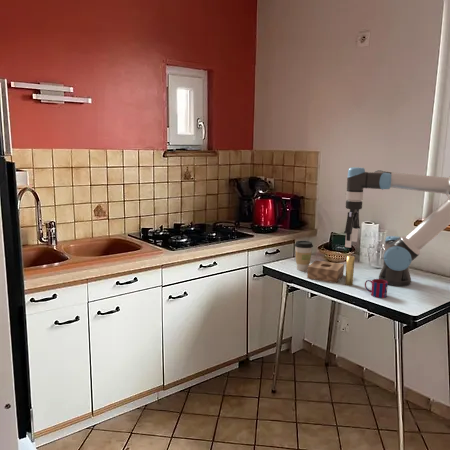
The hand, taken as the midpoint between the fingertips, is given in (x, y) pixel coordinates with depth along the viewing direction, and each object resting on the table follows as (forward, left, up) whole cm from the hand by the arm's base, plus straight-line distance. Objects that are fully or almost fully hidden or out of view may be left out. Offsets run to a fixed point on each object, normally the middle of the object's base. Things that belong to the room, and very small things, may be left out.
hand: (351, 244), depth 219 cm
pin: (0, 0, -20) cm, 20 cm away
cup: (-14, +9, -20) cm, 26 cm away
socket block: (+13, -7, -20) cm, 25 cm away
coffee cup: (+28, -14, -20) cm, 37 cm away
